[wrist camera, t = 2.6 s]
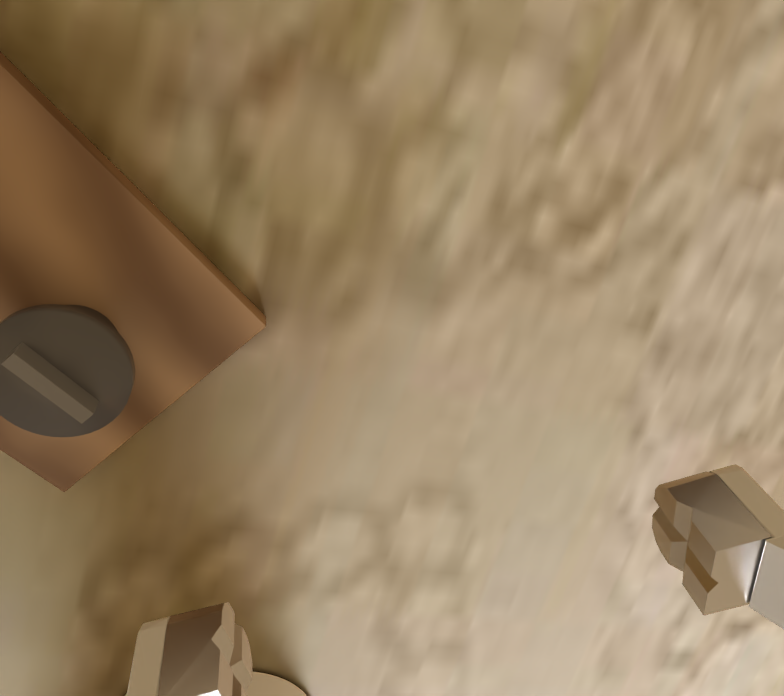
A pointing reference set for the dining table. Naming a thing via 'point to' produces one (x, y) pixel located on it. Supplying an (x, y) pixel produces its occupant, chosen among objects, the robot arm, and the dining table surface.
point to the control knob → (63, 370)
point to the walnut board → (103, 274)
